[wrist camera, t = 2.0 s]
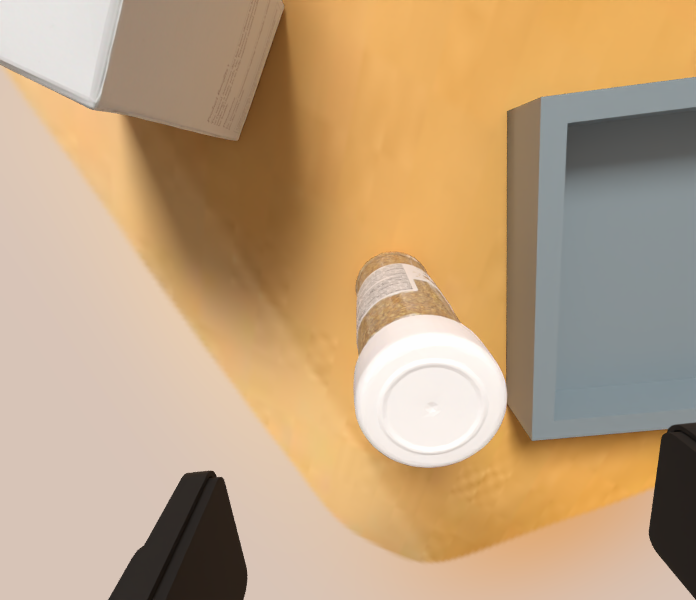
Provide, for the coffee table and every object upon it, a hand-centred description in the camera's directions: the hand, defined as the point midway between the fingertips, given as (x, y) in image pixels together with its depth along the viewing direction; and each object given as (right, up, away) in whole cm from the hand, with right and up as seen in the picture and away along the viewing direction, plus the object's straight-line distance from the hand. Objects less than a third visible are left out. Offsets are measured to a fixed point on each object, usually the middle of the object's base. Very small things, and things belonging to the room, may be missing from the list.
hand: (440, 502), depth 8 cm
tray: (+17, +7, +15) cm, 23 cm away
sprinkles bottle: (+1, +5, +16) cm, 17 cm away
